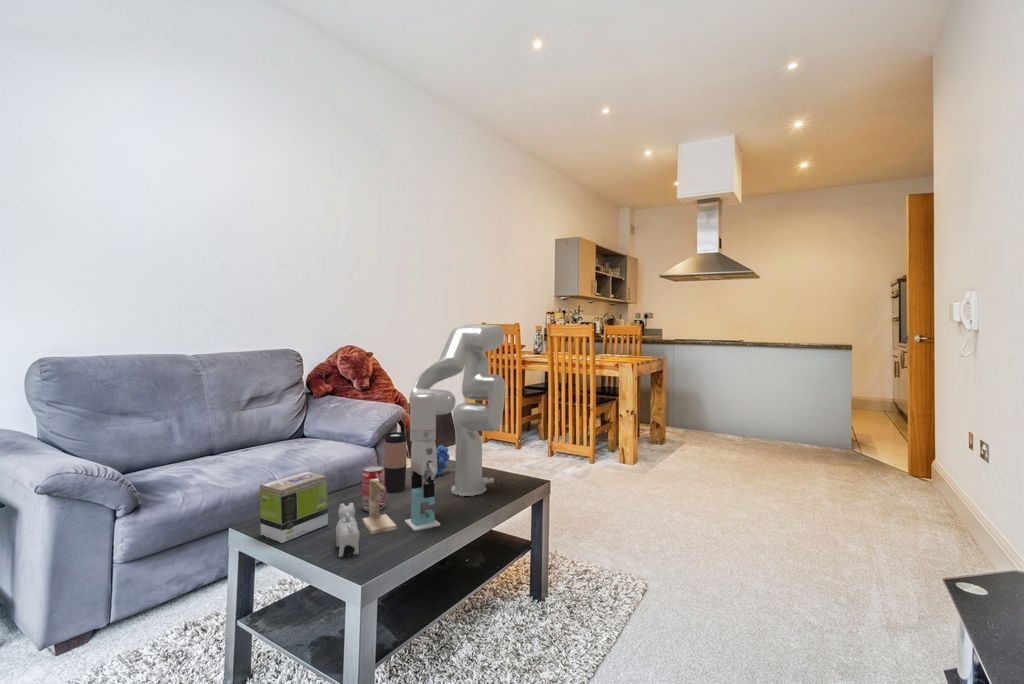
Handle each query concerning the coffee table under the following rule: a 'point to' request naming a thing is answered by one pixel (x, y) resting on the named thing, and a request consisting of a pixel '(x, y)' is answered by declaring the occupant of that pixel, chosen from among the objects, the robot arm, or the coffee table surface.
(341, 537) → the dog figurine
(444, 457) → the grapes
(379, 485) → the stand
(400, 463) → the travel mug
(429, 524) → the felt mat
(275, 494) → the tea box
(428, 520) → the c link
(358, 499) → the coffee table surface
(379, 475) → the soda can
